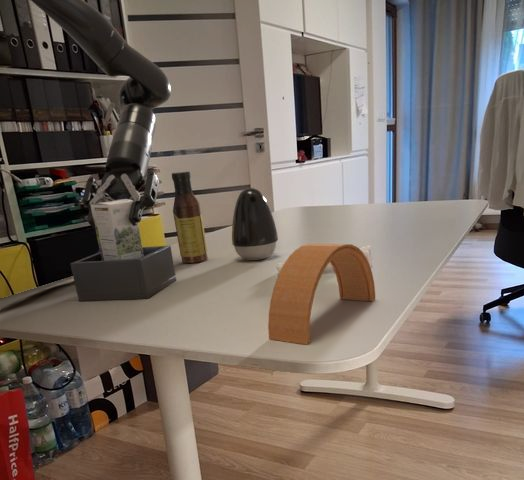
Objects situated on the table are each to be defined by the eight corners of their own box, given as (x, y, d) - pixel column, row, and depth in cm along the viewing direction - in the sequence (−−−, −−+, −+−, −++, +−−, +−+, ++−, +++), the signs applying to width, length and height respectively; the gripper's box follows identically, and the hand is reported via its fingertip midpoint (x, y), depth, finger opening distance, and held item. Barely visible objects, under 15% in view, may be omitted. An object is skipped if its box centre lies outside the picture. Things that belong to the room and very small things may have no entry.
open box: (78, 301, 96) (69, 263, 93) (113, 283, 107) (106, 249, 105) (148, 298, 92) (141, 259, 90) (176, 280, 104) (170, 245, 101)
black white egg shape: (238, 265, 112) (229, 191, 106) (231, 257, 121) (223, 189, 116) (284, 258, 113) (278, 186, 108) (273, 251, 123) (267, 184, 118)
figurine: (375, 258, 104) (289, 271, 110) (372, 232, 102) (284, 247, 108) (368, 281, 88) (268, 296, 94) (363, 251, 87) (262, 268, 93)
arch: (376, 299, 78) (375, 231, 74) (306, 344, 63) (300, 263, 59) (341, 296, 81) (338, 231, 77) (267, 338, 66) (259, 261, 63)
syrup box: (130, 274, 103) (115, 199, 98) (148, 277, 99) (134, 198, 94) (105, 282, 99) (88, 203, 94) (124, 284, 95) (107, 203, 90)
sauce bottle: (191, 258, 125) (178, 171, 118) (213, 258, 123) (201, 169, 115) (175, 264, 120) (161, 173, 113) (198, 264, 117) (185, 171, 110)
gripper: (86, 143, 99) (66, 214, 92) (155, 135, 95) (139, 208, 89) (106, 170, 105) (88, 238, 99) (171, 164, 102) (157, 234, 96)
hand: (112, 224), depth 94 cm, fingers closed on syrup box, 7 cm apart
